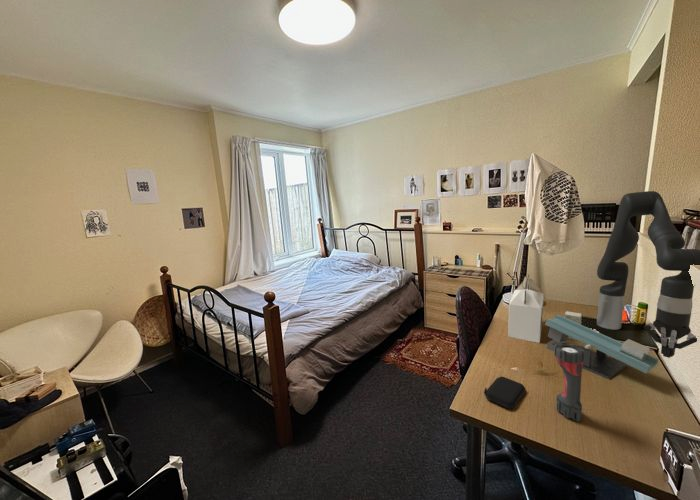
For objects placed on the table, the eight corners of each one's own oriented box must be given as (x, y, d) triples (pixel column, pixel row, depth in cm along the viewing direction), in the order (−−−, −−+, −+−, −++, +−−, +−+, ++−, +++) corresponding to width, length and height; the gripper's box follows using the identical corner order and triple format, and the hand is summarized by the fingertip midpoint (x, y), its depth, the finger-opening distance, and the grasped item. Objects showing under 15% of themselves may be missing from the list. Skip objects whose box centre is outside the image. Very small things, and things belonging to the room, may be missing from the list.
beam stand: (560, 341, 135) (561, 325, 134) (627, 366, 114) (629, 347, 113) (541, 350, 129) (542, 334, 127) (608, 379, 108) (610, 360, 106)
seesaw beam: (556, 328, 135) (560, 312, 132) (653, 375, 107) (662, 356, 104) (539, 337, 129) (543, 320, 126) (637, 389, 101) (645, 369, 98)
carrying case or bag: (496, 378, 113) (480, 398, 104) (496, 372, 113) (480, 390, 103) (526, 391, 105) (512, 413, 96) (527, 383, 105) (512, 405, 95)
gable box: (513, 319, 160) (515, 271, 155) (542, 324, 152) (544, 273, 147) (507, 337, 142) (509, 283, 137) (539, 343, 135) (542, 286, 129)
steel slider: (624, 350, 110) (628, 339, 108) (645, 359, 105) (649, 348, 103) (618, 353, 108) (622, 342, 106) (639, 363, 103) (644, 352, 101)
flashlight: (550, 399, 100) (554, 339, 96) (579, 407, 95) (584, 344, 91) (550, 414, 94) (554, 350, 89) (581, 423, 89) (587, 356, 85)
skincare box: (580, 337, 137) (582, 313, 135) (579, 341, 134) (581, 316, 132) (564, 333, 141) (565, 310, 139) (562, 337, 138) (564, 313, 136)
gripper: (709, 312, 90) (700, 361, 94) (651, 300, 102) (645, 344, 105) (700, 318, 87) (692, 369, 90) (641, 305, 99) (636, 351, 102)
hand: (667, 356), depth 98 cm, fingers closed
